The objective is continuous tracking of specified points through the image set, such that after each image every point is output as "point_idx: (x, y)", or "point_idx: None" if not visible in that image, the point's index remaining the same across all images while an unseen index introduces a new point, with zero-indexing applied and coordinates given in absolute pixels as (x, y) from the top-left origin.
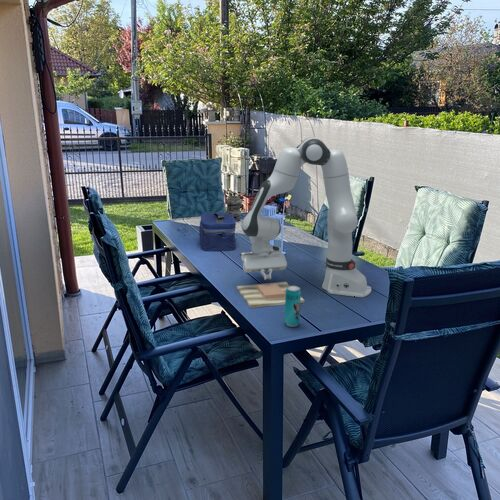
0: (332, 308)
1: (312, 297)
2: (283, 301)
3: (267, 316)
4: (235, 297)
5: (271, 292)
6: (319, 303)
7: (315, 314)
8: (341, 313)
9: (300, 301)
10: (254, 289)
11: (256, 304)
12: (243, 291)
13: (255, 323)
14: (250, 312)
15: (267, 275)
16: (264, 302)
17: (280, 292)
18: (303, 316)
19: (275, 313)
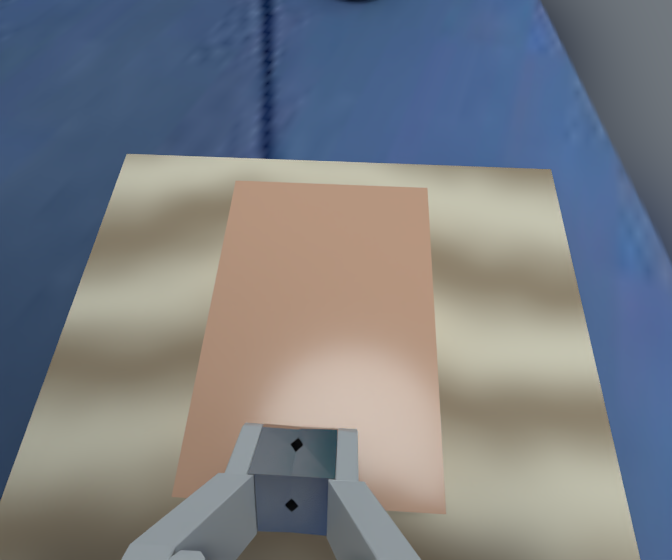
0: (41, 67)
1: (9, 236)
2: (284, 171)
3: (452, 67)
4: (665, 429)
5: (347, 234)
6: (52, 137)
7: (185, 33)
8: (52, 16)
9: (160, 160)
10: (453, 540)
11: (502, 172)
12: (596, 511)
13: (534, 22)
14: (547, 129)
15: (301, 457)
16: (433, 189)
17: (264, 213)
18: (259, 29)
19: (394, 86)
